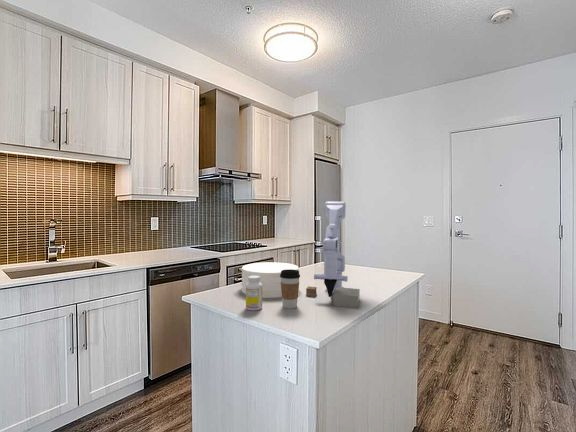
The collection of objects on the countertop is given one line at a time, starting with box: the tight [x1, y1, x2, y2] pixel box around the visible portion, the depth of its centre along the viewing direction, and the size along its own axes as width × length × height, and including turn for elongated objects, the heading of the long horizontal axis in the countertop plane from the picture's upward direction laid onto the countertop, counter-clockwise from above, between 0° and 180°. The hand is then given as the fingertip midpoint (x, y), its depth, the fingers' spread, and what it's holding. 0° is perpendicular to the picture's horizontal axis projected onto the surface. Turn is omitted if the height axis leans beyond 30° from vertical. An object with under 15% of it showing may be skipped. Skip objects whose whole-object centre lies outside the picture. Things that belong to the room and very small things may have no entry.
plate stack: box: [241, 261, 300, 299], centre depth 155 cm, size 28×28×12 cm
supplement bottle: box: [245, 276, 263, 312], centre depth 126 cm, size 7×7×13 cm
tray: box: [330, 289, 336, 306], centre depth 135 cm, size 12×10×4 cm
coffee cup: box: [280, 269, 301, 309], centre depth 129 cm, size 8×8×15 cm
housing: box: [332, 287, 361, 309], centre depth 134 cm, size 12×10×5 cm
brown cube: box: [305, 286, 317, 298], centre depth 145 cm, size 4×4×4 cm
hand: (330, 296), depth 136 cm, fingers closed
